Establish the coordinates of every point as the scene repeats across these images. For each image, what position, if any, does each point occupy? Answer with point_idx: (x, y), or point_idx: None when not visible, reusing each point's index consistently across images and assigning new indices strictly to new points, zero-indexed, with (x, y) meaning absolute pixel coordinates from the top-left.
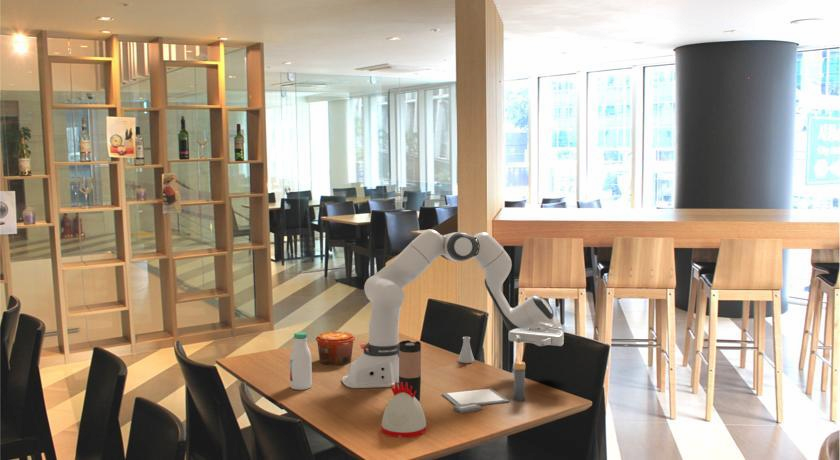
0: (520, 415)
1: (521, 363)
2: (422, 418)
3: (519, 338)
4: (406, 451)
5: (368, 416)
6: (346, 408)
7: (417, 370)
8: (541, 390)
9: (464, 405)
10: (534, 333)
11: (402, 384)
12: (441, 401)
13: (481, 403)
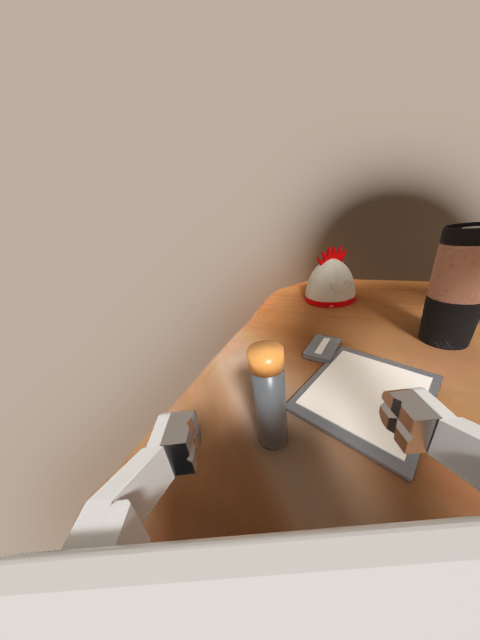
0: (233, 366)
1: (257, 348)
2: (307, 286)
3: (390, 391)
4: (289, 287)
5: (394, 298)
6: None
7: (431, 283)
8: None
9: (331, 346)
10: (355, 572)
11: (333, 249)
12: (394, 355)
13: (320, 370)
